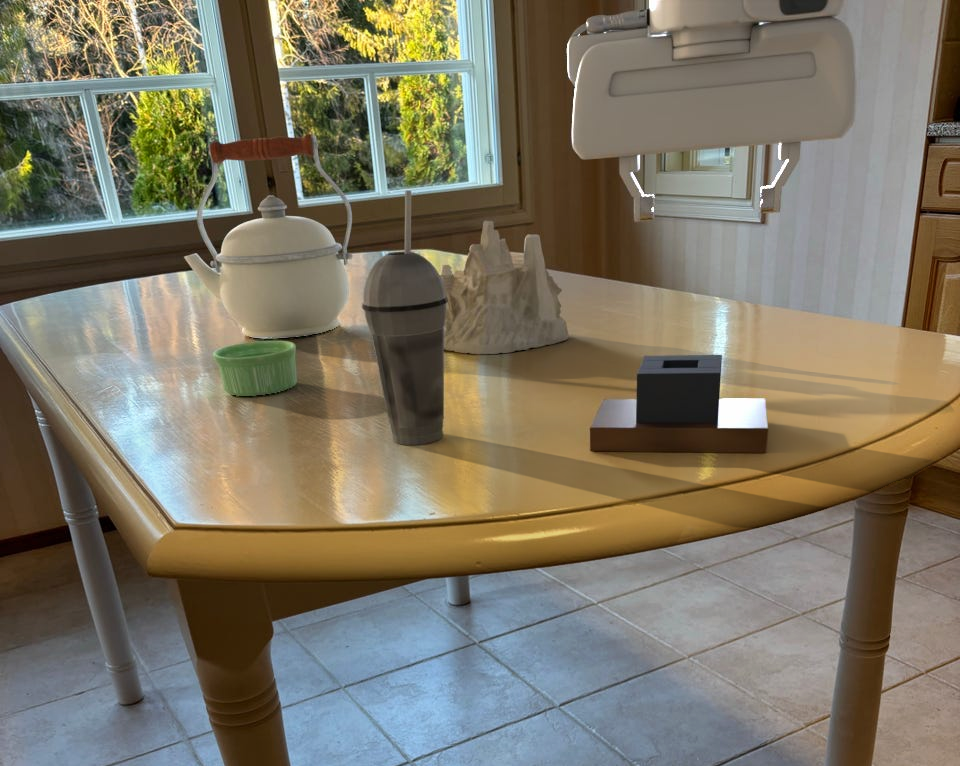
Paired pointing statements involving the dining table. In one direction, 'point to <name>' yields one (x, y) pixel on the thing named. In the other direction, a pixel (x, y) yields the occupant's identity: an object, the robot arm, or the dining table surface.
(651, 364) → the dark grey holed block
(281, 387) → the ramekin
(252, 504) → the dining table surface
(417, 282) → the beverage cup
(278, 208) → the kettle
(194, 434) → the dining table surface
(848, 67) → the robot arm
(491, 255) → the white castle figurine
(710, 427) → the wooden peg base
